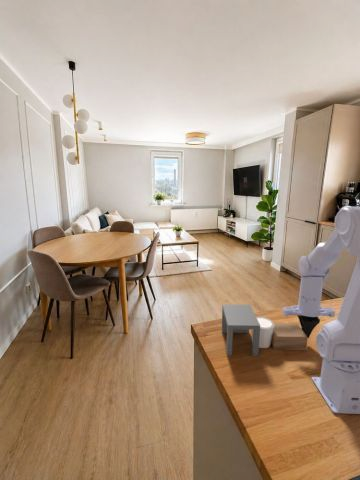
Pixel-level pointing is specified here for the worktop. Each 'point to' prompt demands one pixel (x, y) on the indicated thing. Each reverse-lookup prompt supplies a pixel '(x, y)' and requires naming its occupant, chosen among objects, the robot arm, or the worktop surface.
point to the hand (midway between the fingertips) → (305, 336)
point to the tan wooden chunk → (288, 337)
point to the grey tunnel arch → (240, 324)
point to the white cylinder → (265, 332)
